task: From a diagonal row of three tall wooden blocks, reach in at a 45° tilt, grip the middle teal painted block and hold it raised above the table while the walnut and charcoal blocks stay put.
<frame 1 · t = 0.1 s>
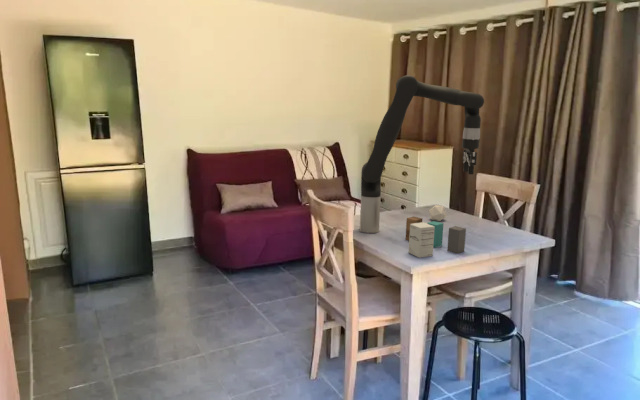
hand: (468, 172, 230), 29 cm above the table, tool pointing down, fingers open, 8 cm apart
charcoal block: (455, 251, 208), on the table
walnut block: (413, 239, 224), on the table
teal block: (433, 245, 216), on the table
supplement box: (420, 254, 203), on the table
die: (437, 220, 261), on the table
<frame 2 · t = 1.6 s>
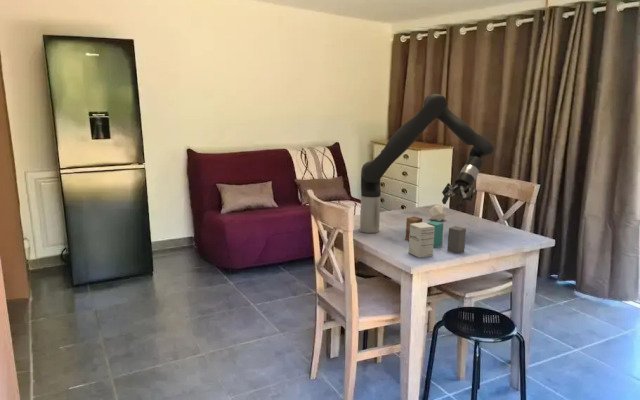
hand: (451, 204, 221), 17 cm above the table, tool tilted 45°, fingers open, 8 cm apart
nothing on the table moved.
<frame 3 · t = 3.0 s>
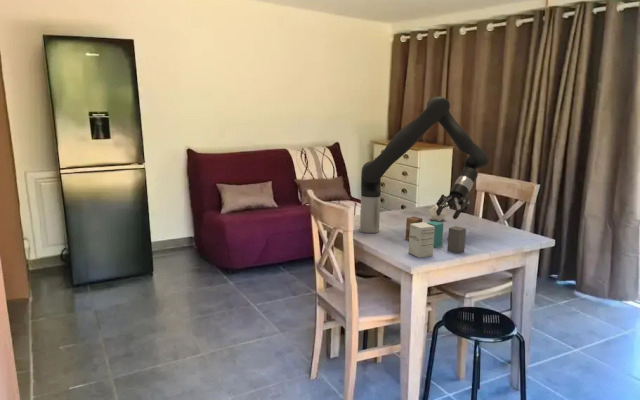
hand: (445, 216, 219), 12 cm above the table, tool tilted 45°, fingers open, 8 cm apart
nothing on the table moved.
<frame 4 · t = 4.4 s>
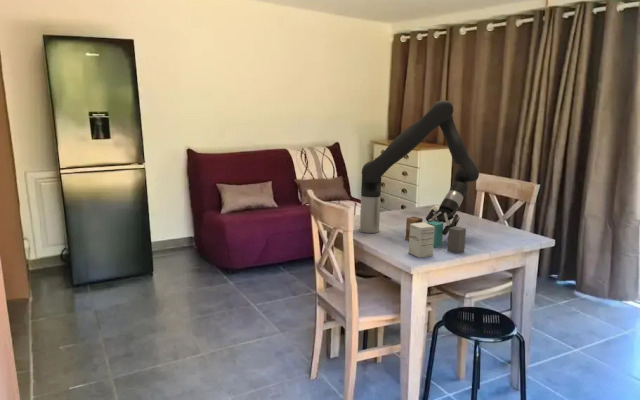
hand: (435, 232, 215), 6 cm above the table, tool tilted 45°, fingers open, 8 cm apart
nothing on the table moved.
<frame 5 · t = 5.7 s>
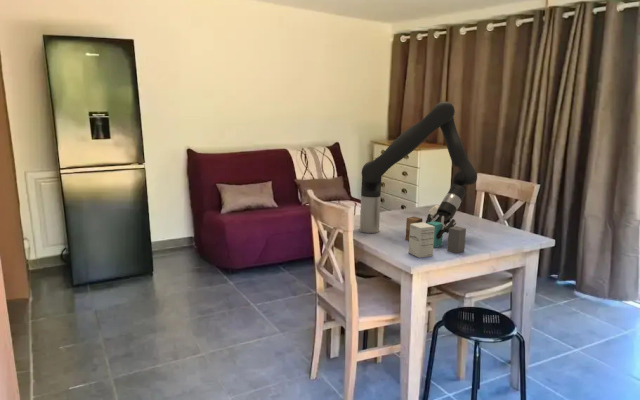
hand: (431, 236, 214), 4 cm above the table, tool tilted 45°, fingers closed on teal block, 5 cm apart
teal block: (433, 245, 216), on the table, touching gripper
everything else where it was.
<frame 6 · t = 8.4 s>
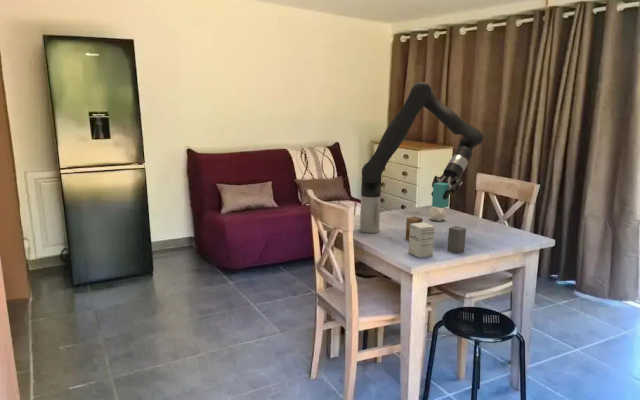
hand: (438, 197, 213), 21 cm above the table, tool tilted 45°, fingers closed on teal block, 5 cm apart
teal block: (440, 206, 215), point 17 cm above the table, touching gripper
everything else where it was.
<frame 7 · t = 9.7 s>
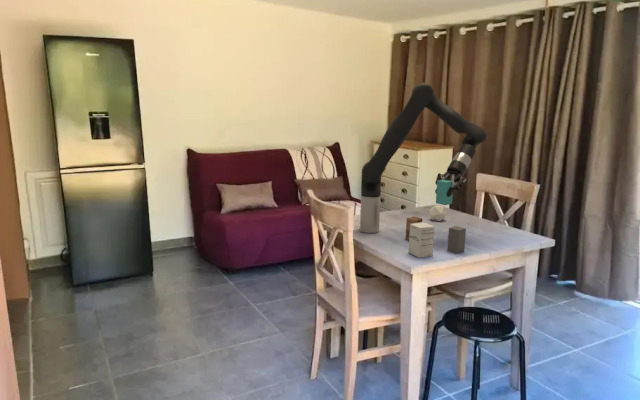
hand: (442, 194, 214), 22 cm above the table, tool tilted 45°, fingers closed on teal block, 5 cm apart
teal block: (443, 203, 217), point 18 cm above the table, touching gripper
everything else where it was.
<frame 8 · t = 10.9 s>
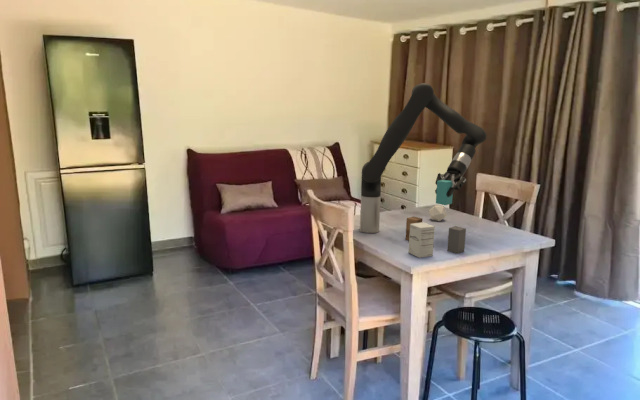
hand: (442, 194, 214), 22 cm above the table, tool tilted 45°, fingers closed on teal block, 5 cm apart
teal block: (443, 203, 217), point 18 cm above the table, touching gripper
everything else where it was.
at the end: teal block point 17.9 cm above the table; walnut block moved 0.0 cm from its start; charcoal block moved 0.0 cm from its start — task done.
